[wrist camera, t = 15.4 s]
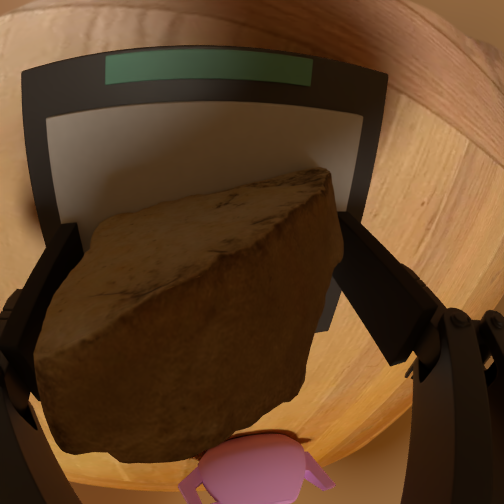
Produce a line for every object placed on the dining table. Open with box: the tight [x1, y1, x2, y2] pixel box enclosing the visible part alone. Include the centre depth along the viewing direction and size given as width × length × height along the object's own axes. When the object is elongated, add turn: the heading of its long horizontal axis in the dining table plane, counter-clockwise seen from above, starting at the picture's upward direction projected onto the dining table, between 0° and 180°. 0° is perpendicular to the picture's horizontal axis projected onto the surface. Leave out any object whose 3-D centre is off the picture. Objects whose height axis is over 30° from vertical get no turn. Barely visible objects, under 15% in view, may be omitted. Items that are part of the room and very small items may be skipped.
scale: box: [21, 45, 388, 333], centre depth 14 cm, size 16×16×4 cm
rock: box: [33, 167, 344, 464], centre depth 10 cm, size 11×9×10 cm
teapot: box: [178, 434, 336, 504], centre depth 32 cm, size 22×16×12 cm
